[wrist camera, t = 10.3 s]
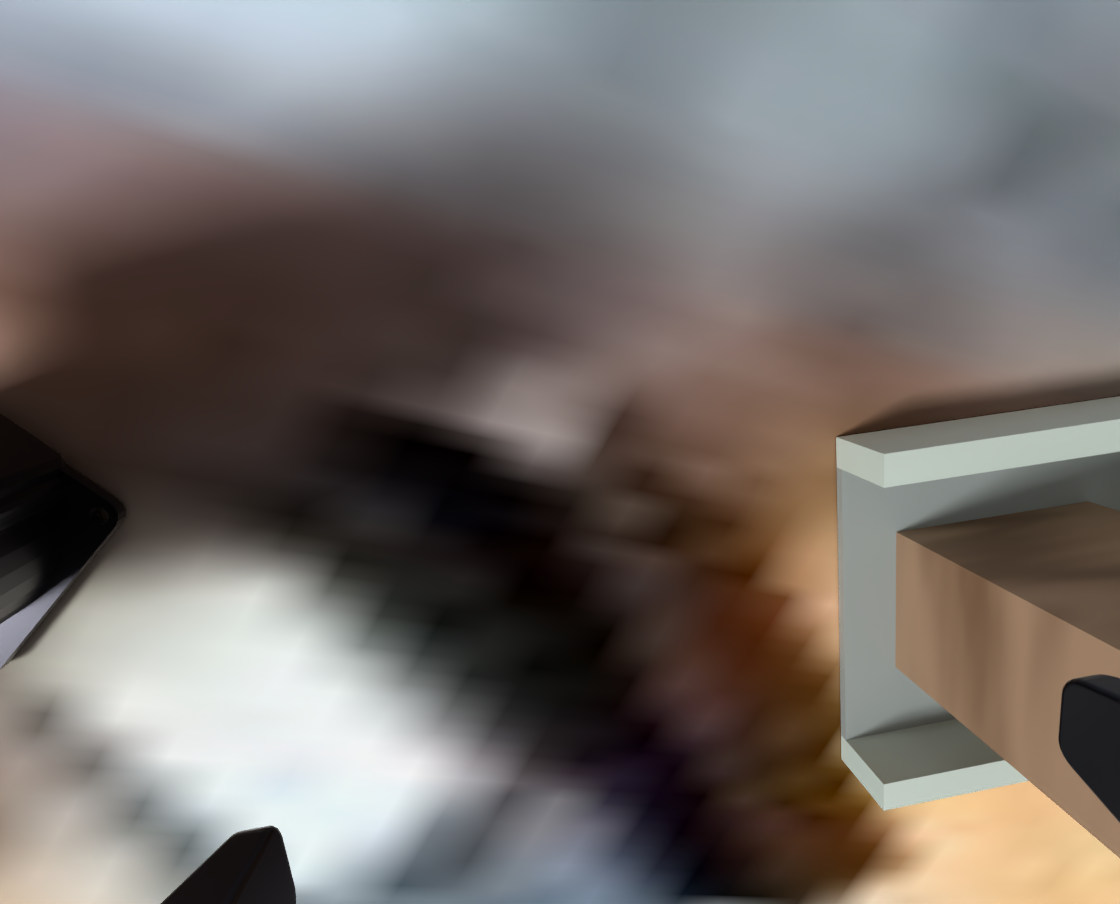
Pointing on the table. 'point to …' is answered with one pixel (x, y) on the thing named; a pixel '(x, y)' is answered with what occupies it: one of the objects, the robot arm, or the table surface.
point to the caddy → (1015, 632)
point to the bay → (929, 500)
